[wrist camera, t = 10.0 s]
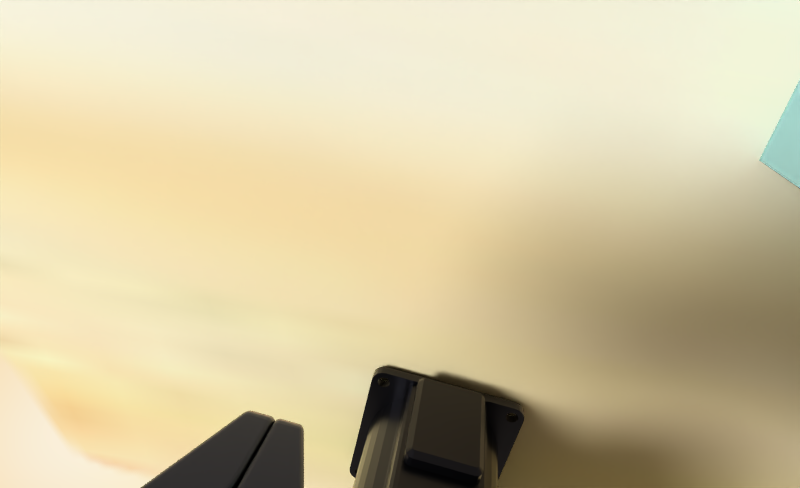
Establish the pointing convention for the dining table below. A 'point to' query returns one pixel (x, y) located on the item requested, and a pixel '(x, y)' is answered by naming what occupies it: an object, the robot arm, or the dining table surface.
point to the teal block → (786, 142)
